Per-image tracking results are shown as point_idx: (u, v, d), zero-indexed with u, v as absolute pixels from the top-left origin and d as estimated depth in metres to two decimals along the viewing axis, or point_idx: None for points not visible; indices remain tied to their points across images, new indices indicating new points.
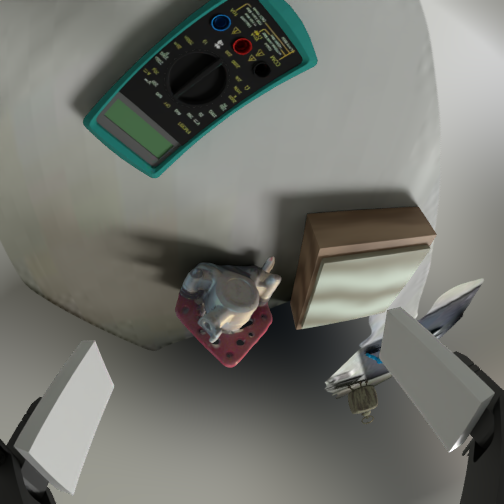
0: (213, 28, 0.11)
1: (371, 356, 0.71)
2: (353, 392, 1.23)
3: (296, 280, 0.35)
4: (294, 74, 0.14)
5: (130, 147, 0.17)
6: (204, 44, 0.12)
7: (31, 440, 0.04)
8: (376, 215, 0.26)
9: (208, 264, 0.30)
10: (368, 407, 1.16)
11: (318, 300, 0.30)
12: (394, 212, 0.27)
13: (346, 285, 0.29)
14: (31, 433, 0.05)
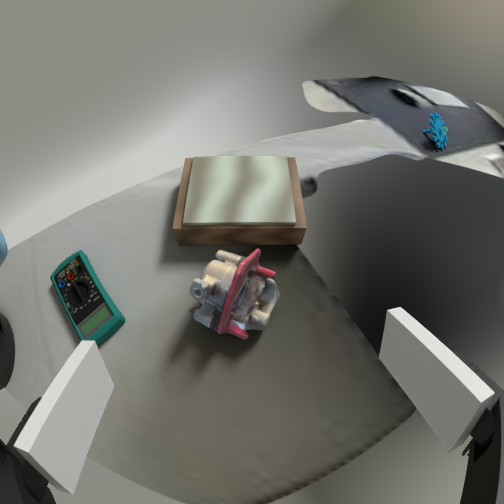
0: (63, 286, 0.34)
1: None
2: None
3: (253, 242, 0.40)
4: (83, 257, 0.36)
5: (101, 326, 0.32)
6: (67, 289, 0.34)
7: (31, 440, 0.04)
8: None
9: None
10: None
11: (236, 217, 0.37)
12: None
13: (219, 201, 0.38)
14: (31, 433, 0.05)
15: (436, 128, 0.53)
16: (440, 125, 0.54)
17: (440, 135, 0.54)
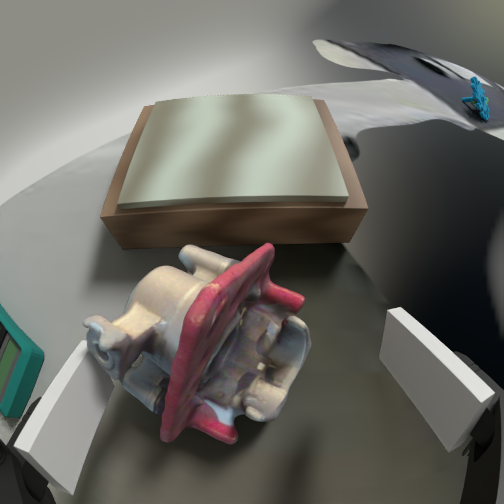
0: None
1: (478, 108, 0.34)
2: None
3: (261, 240, 0.20)
4: None
5: None
6: None
7: (31, 440, 0.04)
8: None
9: None
10: None
11: (225, 186, 0.17)
12: None
13: (191, 159, 0.18)
14: (31, 433, 0.05)
15: (478, 94, 0.34)
16: (481, 92, 0.34)
17: (483, 104, 0.35)
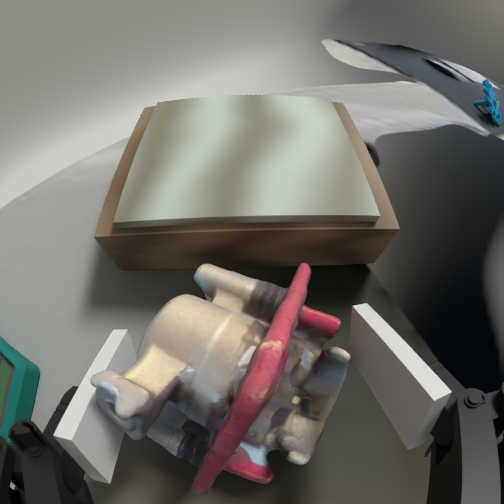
0: None
1: (491, 112, 0.32)
2: None
3: (279, 263, 0.18)
4: None
5: (9, 395, 0.11)
6: None
7: (73, 428, 0.05)
8: None
9: None
10: None
11: (240, 203, 0.15)
12: None
13: (199, 169, 0.16)
14: (72, 421, 0.06)
15: (491, 98, 0.31)
16: (493, 96, 0.32)
17: (495, 107, 0.32)
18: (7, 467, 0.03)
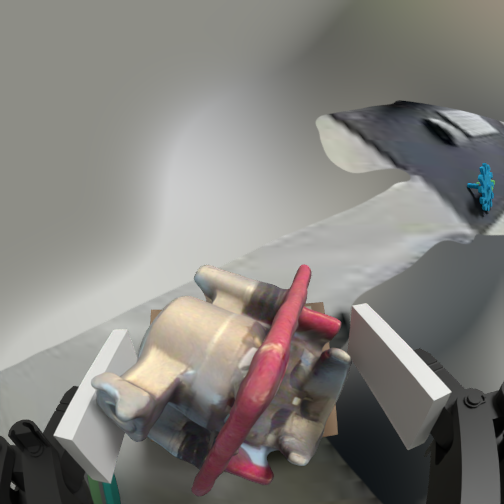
0: None
1: (481, 203, 0.39)
2: None
3: None
4: None
5: (104, 492, 0.18)
6: None
7: (73, 427, 0.05)
8: None
9: None
10: None
11: None
12: None
13: None
14: (73, 420, 0.06)
15: (485, 185, 0.38)
16: (489, 180, 0.39)
17: (488, 194, 0.39)
18: (7, 467, 0.03)
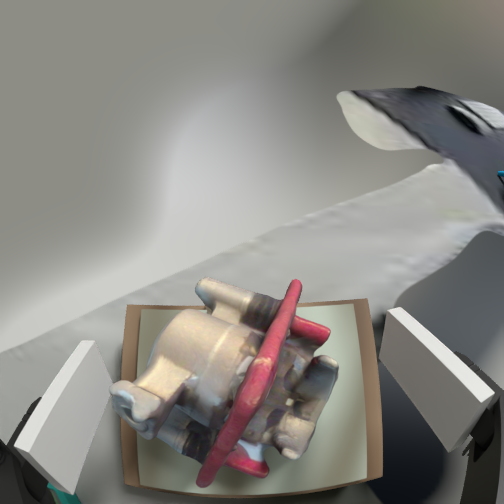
0: None
1: None
2: None
3: None
4: None
5: None
6: None
7: (31, 440, 0.04)
8: None
9: None
10: None
11: (248, 484, 0.12)
12: None
13: None
14: (31, 433, 0.05)
15: None
16: None
17: None
18: None
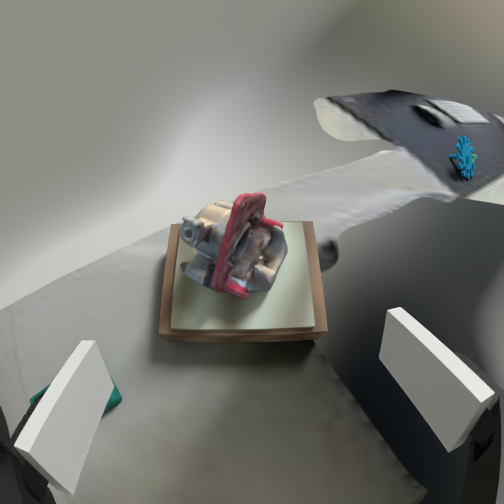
0: None
1: (459, 168, 0.45)
2: None
3: (260, 341, 0.31)
4: (35, 395, 0.24)
5: None
6: None
7: (31, 440, 0.04)
8: None
9: None
10: None
11: (239, 321, 0.28)
12: None
13: (215, 296, 0.29)
14: (31, 433, 0.05)
15: (463, 154, 0.44)
16: (468, 151, 0.45)
17: (467, 163, 0.45)
18: None
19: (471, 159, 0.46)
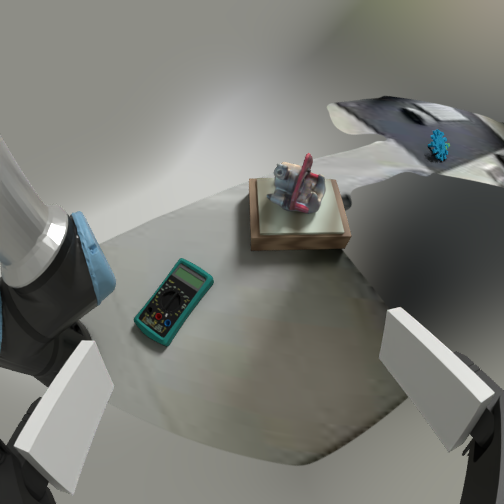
0: (169, 320, 0.42)
1: (434, 152, 0.65)
2: None
3: (310, 247, 0.51)
4: (139, 312, 0.43)
5: (191, 269, 0.47)
6: (170, 313, 0.43)
7: (31, 440, 0.04)
8: None
9: None
10: None
11: (301, 228, 0.48)
12: None
13: (285, 215, 0.49)
14: (31, 433, 0.05)
15: (437, 142, 0.65)
16: (442, 141, 0.65)
17: (440, 149, 0.66)
18: None
19: (444, 146, 0.66)
